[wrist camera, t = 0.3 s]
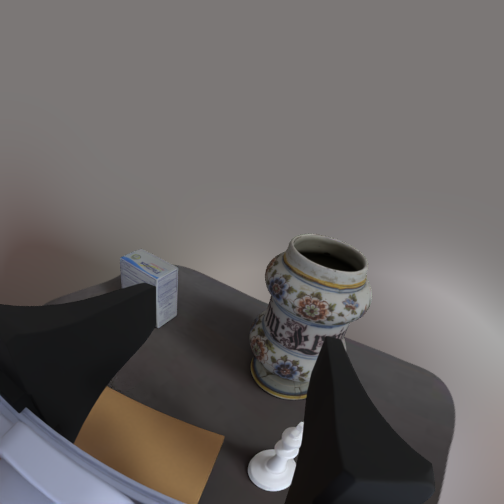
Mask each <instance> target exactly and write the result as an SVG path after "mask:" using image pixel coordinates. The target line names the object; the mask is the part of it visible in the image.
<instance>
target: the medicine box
mask: <svg viewBox="0 0 504 504" xmlns="http://www.w3.org/2000/svg"><path fill="white" fill-rule="evenodd" d="M120 269H121V284H122V289H123V288H126V287H129V286H132V285H136V284H140V283H148V284H150V285H153V286H156V326H155V327H157V328H160V327H161V326H162V325H164V324H165V323H167V322H168V321H170V320H171V319H172V318H174V317H175V316H177V288H178V268H177V267H176V266H174V265H172V264H170V263H168V262H166V261H164V260H162V259H161V258H159V257H157V256H155V255H152V254H151V253H149V252H147V251H145V250H143V249H139V250H136V251H134V252H131V253H129V254H127V255H125V256H123V257H121V258H120Z"/></svg>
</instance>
